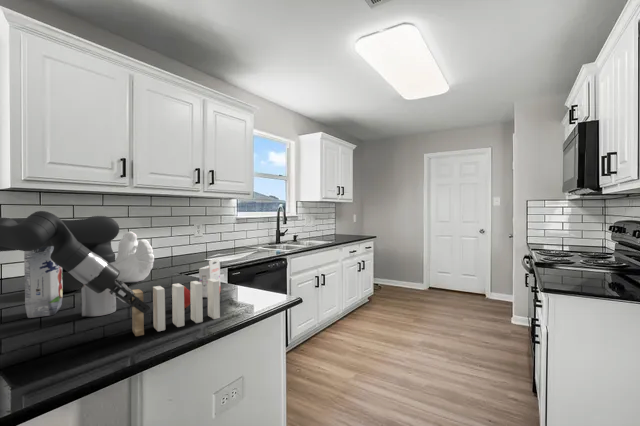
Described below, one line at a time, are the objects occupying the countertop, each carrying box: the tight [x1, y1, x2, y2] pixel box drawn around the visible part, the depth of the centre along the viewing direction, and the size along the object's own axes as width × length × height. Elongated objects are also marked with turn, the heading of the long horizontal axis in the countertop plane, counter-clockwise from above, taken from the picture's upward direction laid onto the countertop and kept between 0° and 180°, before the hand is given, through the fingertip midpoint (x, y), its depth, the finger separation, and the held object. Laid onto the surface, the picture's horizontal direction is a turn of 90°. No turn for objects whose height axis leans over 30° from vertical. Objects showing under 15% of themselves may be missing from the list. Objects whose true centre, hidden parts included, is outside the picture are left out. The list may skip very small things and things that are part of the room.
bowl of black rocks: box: [62, 268, 84, 293], centre depth 146 cm, size 20×20×19 cm
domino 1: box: [152, 285, 166, 332], centre depth 99 cm, size 2×5×12 cm, turn 39°
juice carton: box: [23, 246, 64, 319], centre depth 114 cm, size 9×10×27 cm
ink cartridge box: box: [198, 258, 221, 298], centre depth 138 cm, size 9×5×15 cm, turn 168°
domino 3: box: [189, 280, 204, 324], centre depth 105 cm, size 2×5×12 cm, turn 39°
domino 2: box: [171, 282, 185, 328], centre depth 102 cm, size 2×5×12 cm, turn 39°
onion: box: [183, 285, 191, 310], centre depth 119 cm, size 6×6×8 cm
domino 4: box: [207, 279, 221, 320], centre depth 109 cm, size 2×5×12 cm, turn 39°
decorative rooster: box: [115, 231, 155, 283], centre depth 164 cm, size 25×16×25 cm, turn 49°
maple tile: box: [131, 288, 145, 337], centre depth 95 cm, size 2×5×12 cm, turn 38°
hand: (144, 307), depth 96 cm, fingers open, 6 cm apart
